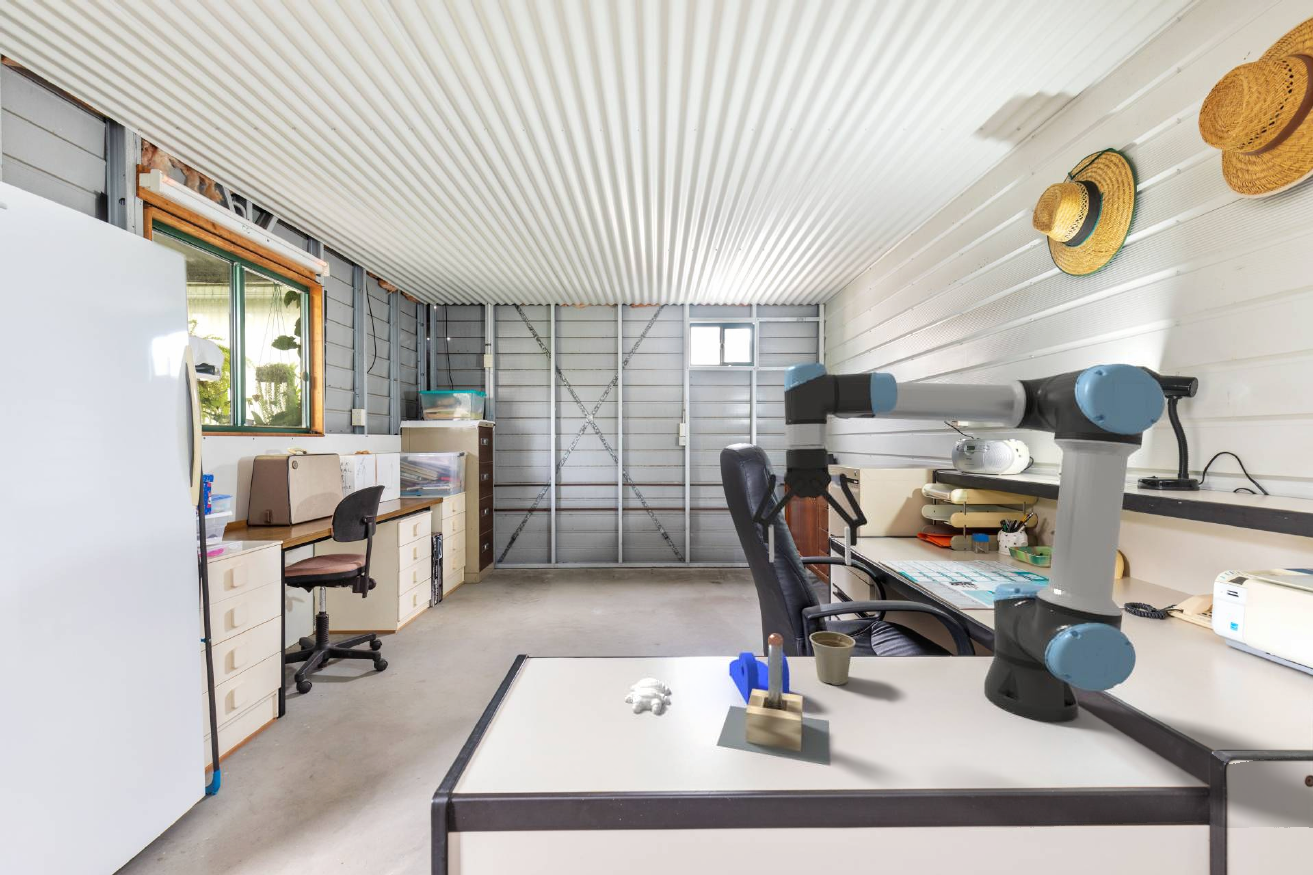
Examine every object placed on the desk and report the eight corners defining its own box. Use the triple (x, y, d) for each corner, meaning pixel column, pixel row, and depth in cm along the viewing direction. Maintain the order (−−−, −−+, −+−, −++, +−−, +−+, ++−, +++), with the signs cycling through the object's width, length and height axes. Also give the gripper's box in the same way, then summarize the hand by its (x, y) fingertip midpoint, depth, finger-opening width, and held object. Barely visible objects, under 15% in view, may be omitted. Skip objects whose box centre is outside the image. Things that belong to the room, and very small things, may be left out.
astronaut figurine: (619, 713, 100) (619, 697, 100) (634, 684, 112) (634, 670, 112) (665, 718, 99) (665, 702, 99) (675, 688, 110) (675, 674, 110)
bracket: (789, 705, 103) (789, 659, 103) (747, 707, 102) (747, 661, 102) (760, 666, 121) (761, 627, 121) (725, 668, 120) (725, 628, 120)
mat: (828, 722, 97) (828, 720, 97) (829, 766, 83) (829, 765, 83) (730, 707, 102) (730, 705, 102) (716, 746, 89) (716, 745, 89)
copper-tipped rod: (783, 729, 94) (783, 631, 94) (782, 737, 91) (782, 637, 91) (768, 727, 94) (768, 630, 94) (766, 734, 92) (767, 635, 92)
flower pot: (840, 693, 108) (840, 651, 108) (800, 678, 115) (801, 638, 115) (863, 680, 114) (863, 639, 114) (824, 666, 121) (824, 628, 121)
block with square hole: (802, 723, 96) (802, 695, 96) (800, 751, 87) (800, 720, 87) (752, 715, 98) (752, 688, 98) (745, 741, 90) (745, 712, 90)
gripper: (875, 446, 99) (878, 560, 98) (741, 448, 105) (743, 555, 105) (881, 446, 92) (884, 569, 91) (736, 449, 98) (739, 563, 98)
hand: (809, 562), depth 98 cm, fingers open, 13 cm apart
